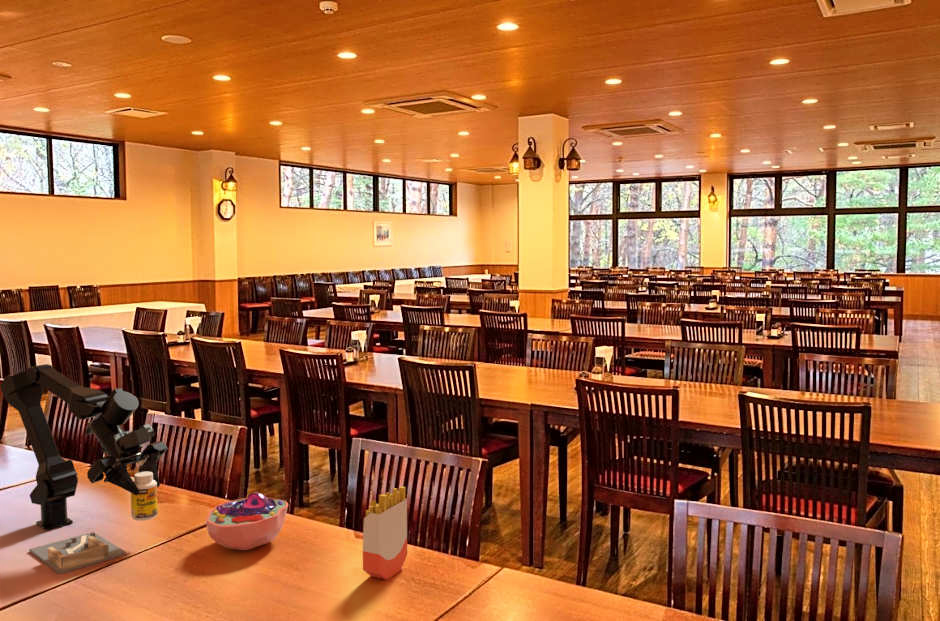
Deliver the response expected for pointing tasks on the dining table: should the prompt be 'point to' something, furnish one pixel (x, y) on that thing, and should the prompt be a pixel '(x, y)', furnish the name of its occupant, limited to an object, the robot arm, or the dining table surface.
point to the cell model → (246, 521)
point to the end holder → (79, 554)
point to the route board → (74, 550)
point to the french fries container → (385, 535)
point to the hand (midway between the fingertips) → (148, 490)
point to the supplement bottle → (144, 497)
